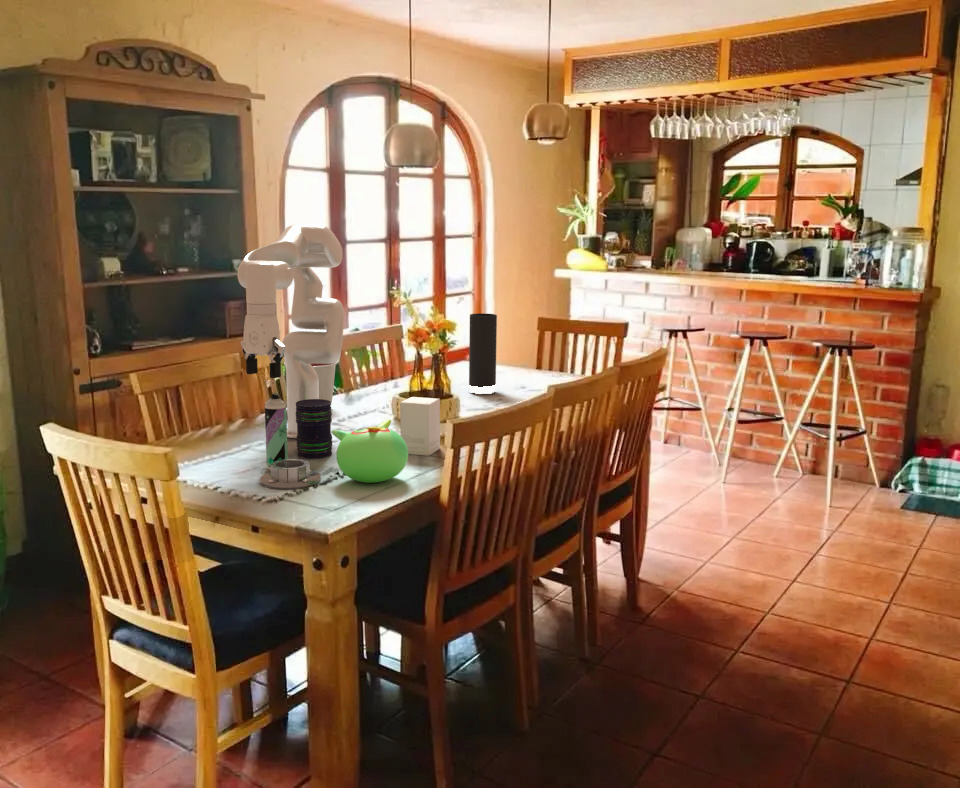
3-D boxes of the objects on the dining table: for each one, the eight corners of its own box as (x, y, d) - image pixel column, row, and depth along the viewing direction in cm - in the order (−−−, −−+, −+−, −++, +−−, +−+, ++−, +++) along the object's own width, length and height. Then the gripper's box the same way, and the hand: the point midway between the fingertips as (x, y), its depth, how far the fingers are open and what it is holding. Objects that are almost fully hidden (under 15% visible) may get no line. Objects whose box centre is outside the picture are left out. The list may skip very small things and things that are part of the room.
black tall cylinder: (467, 390, 342) (468, 313, 336) (493, 389, 343) (494, 313, 337) (470, 395, 331) (471, 316, 326) (496, 394, 333) (498, 316, 327)
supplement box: (441, 448, 253) (441, 398, 250) (429, 456, 245) (429, 404, 242) (412, 445, 256) (412, 395, 253) (399, 453, 248) (399, 401, 245)
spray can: (268, 464, 234) (265, 391, 230) (289, 464, 235) (287, 391, 231) (265, 470, 229) (262, 395, 225) (286, 470, 229) (284, 395, 226)
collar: (295, 468, 231) (295, 453, 230) (333, 479, 221) (332, 463, 221) (247, 480, 220) (247, 464, 219) (284, 493, 210) (284, 476, 209)
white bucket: (346, 410, 302) (345, 350, 297) (297, 416, 292) (295, 354, 287) (325, 401, 316) (323, 344, 312) (277, 407, 306) (275, 347, 302)
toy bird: (346, 493, 210) (345, 434, 208) (329, 475, 226) (327, 419, 223) (416, 485, 218) (416, 428, 215) (395, 468, 233) (395, 414, 230)
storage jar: (302, 461, 239) (300, 407, 236) (292, 452, 247) (290, 400, 244) (337, 456, 243) (336, 404, 240) (326, 448, 252) (325, 397, 249)
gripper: (229, 309, 229) (231, 373, 232) (271, 313, 218) (272, 380, 221) (253, 307, 235) (254, 370, 238) (294, 311, 224) (296, 377, 227)
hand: (263, 375), depth 230 cm, fingers open, 9 cm apart
